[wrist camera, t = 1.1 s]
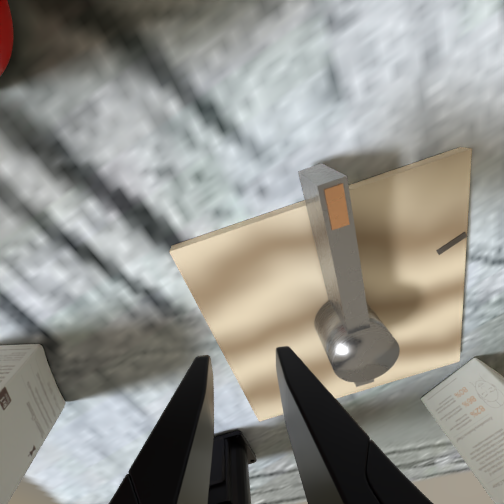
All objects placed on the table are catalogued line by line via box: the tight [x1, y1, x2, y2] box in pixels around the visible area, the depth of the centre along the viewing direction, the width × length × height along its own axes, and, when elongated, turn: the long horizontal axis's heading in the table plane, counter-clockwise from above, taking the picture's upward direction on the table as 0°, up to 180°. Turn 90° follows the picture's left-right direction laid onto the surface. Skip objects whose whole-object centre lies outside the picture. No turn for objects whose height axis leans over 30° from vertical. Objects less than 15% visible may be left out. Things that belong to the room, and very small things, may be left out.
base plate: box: [170, 147, 472, 422], centre depth 25 cm, size 22×22×1 cm
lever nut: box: [298, 163, 400, 387], centre depth 20 cm, size 18×5×4 cm, turn 18°
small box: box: [421, 357, 504, 504], centre depth 28 cm, size 8×6×10 cm
